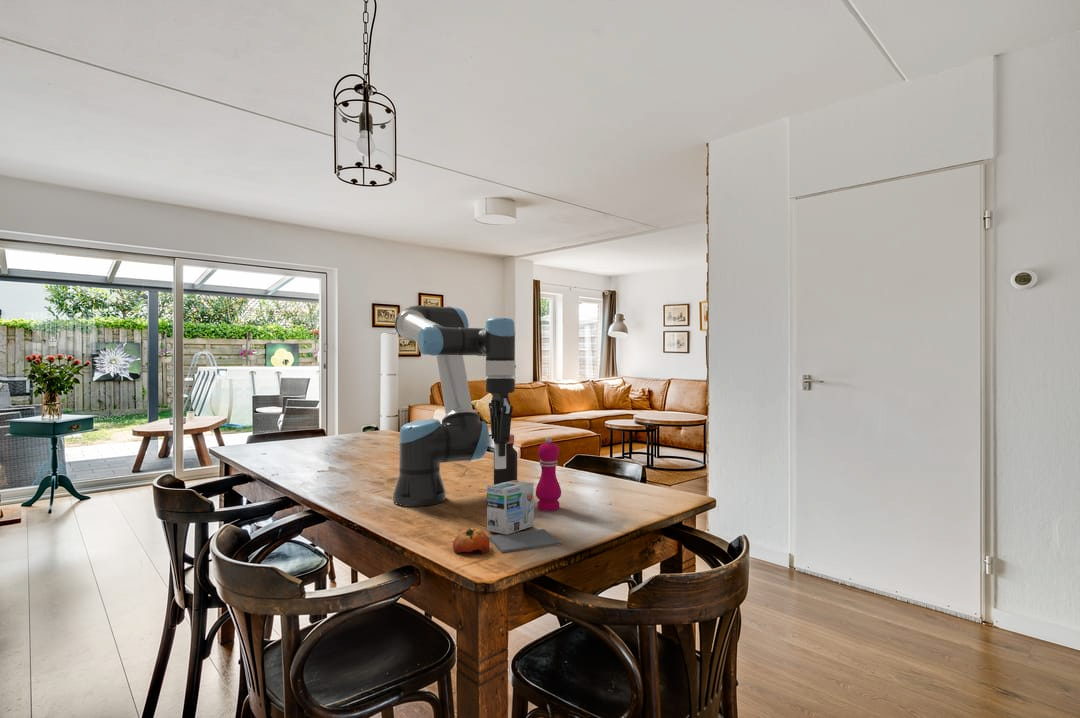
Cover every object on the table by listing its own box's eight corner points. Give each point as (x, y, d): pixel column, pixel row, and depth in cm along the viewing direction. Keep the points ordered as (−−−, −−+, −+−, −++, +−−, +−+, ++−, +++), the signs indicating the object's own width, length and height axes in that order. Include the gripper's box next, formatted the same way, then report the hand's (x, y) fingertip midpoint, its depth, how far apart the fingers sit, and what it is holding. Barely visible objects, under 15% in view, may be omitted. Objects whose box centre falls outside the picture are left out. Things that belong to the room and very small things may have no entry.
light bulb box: (506, 535, 124) (506, 488, 125) (485, 531, 128) (485, 486, 129) (535, 525, 133) (534, 482, 133) (514, 522, 137) (513, 479, 137)
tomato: (442, 542, 117) (464, 514, 119) (462, 556, 121) (482, 530, 123) (459, 558, 111) (481, 529, 113) (479, 573, 114) (500, 545, 116)
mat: (488, 538, 124) (488, 536, 124) (543, 531, 129) (543, 529, 129) (501, 552, 115) (501, 550, 115) (560, 544, 120) (560, 542, 120)
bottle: (495, 501, 157) (495, 433, 157) (518, 501, 156) (518, 433, 156) (492, 507, 150) (492, 436, 150) (516, 508, 150) (516, 436, 150)
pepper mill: (563, 511, 146) (563, 438, 147) (537, 512, 145) (538, 439, 145) (558, 504, 154) (558, 435, 154) (533, 505, 152) (533, 435, 152)
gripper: (522, 377, 134) (522, 471, 134) (505, 377, 146) (505, 463, 146) (494, 378, 131) (494, 474, 131) (479, 377, 143) (479, 465, 143)
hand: (500, 468), depth 138 cm, fingers closed
